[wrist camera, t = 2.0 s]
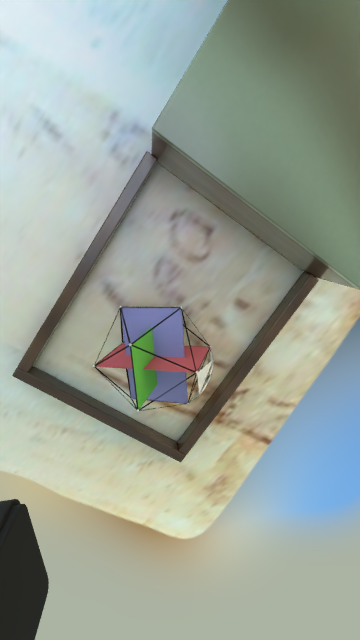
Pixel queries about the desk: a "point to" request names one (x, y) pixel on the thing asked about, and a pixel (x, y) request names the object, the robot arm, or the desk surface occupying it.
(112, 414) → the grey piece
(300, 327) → the desk surface
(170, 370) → the geometric puzzle
